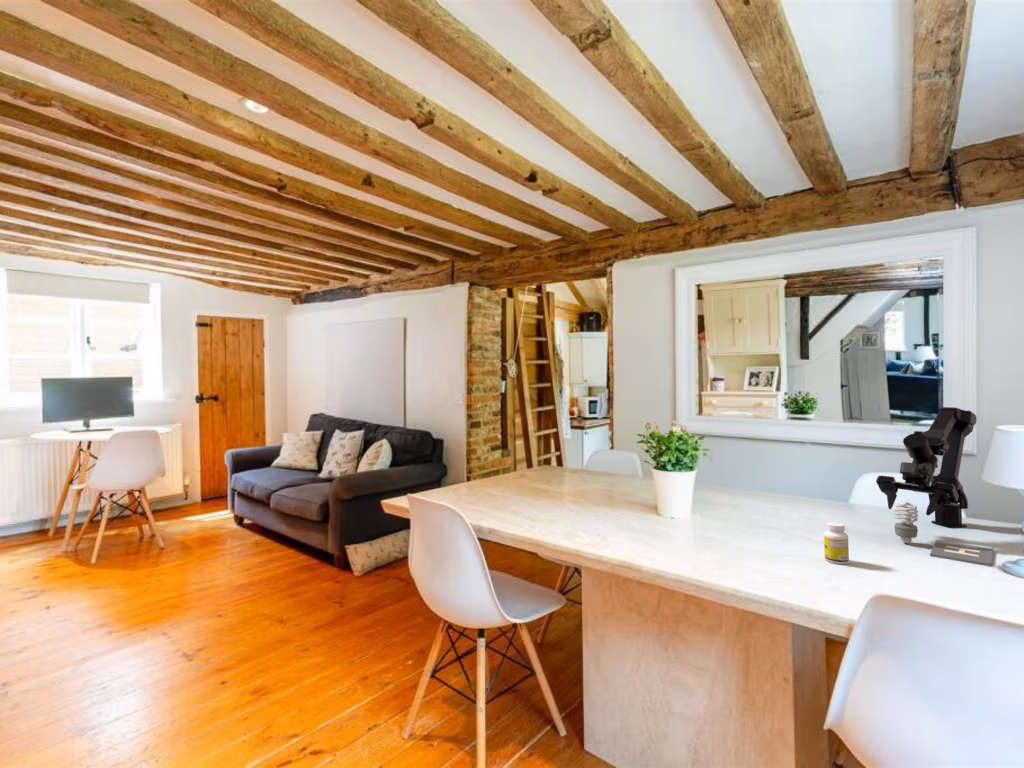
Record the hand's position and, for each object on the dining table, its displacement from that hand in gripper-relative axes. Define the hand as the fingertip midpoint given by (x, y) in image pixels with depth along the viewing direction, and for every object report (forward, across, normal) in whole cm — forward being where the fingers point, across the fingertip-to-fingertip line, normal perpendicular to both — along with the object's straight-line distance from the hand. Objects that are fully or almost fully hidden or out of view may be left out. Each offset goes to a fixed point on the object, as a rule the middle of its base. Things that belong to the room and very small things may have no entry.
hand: (907, 511), depth 150 cm
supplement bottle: (+30, -5, -16) cm, 34 cm away
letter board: (+6, +12, +7) cm, 15 cm away
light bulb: (+8, 0, +6) cm, 9 cm away
